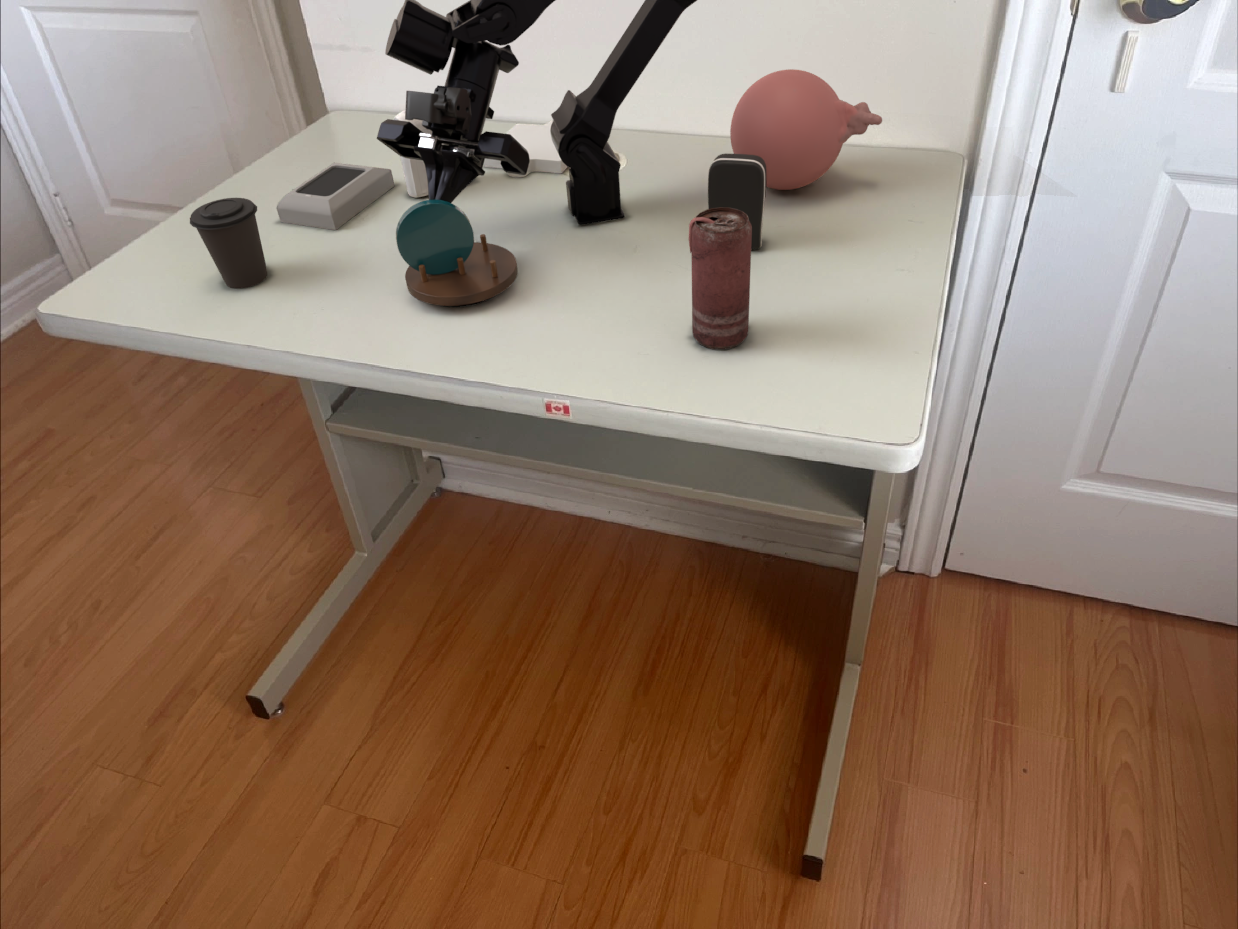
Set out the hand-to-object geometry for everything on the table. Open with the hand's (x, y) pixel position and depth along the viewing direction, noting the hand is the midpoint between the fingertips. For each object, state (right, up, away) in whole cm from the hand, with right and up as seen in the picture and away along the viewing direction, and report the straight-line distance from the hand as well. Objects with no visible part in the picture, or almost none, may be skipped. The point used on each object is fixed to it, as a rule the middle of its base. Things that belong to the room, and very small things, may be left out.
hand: (434, 214), depth 112 cm
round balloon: (+48, +9, +18) cm, 52 cm away
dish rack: (+3, -7, +1) cm, 8 cm away
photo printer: (-4, +11, +26) cm, 28 cm away
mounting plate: (+10, +18, +33) cm, 39 cm away
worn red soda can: (+33, -16, -10) cm, 38 cm away
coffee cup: (-26, -6, +8) cm, 28 cm away
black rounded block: (+37, -2, +7) cm, 38 cm away
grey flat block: (-19, +8, +24) cm, 31 cm away
